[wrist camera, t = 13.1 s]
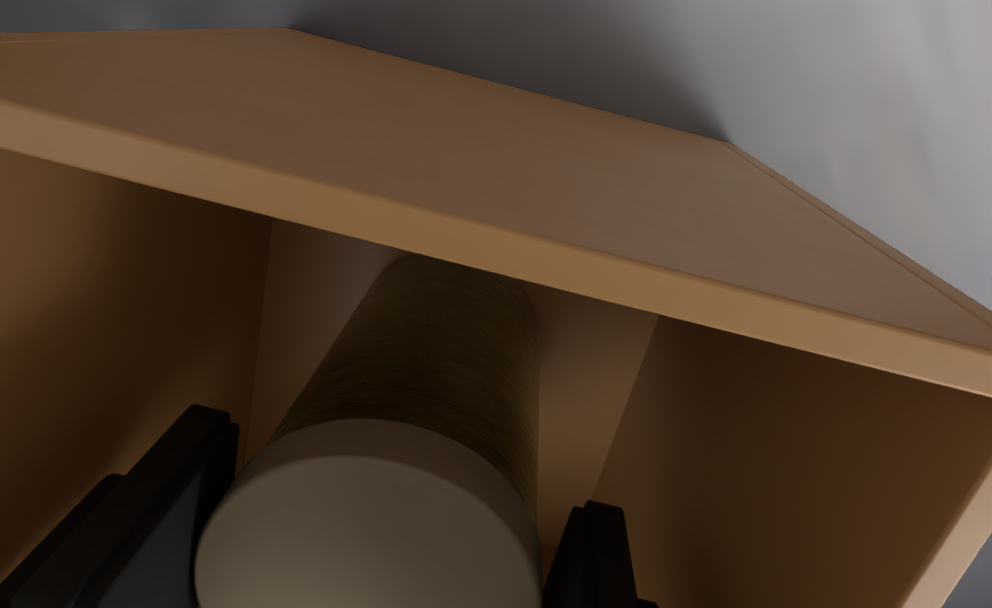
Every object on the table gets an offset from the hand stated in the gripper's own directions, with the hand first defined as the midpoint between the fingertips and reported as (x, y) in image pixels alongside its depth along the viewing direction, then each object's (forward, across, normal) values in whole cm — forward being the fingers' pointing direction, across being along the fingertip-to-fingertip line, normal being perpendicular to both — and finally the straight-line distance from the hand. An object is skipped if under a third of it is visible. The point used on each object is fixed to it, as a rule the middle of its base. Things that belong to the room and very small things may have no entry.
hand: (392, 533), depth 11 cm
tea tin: (+8, 0, 0) cm, 8 cm away
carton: (+8, 0, 0) cm, 8 cm away
